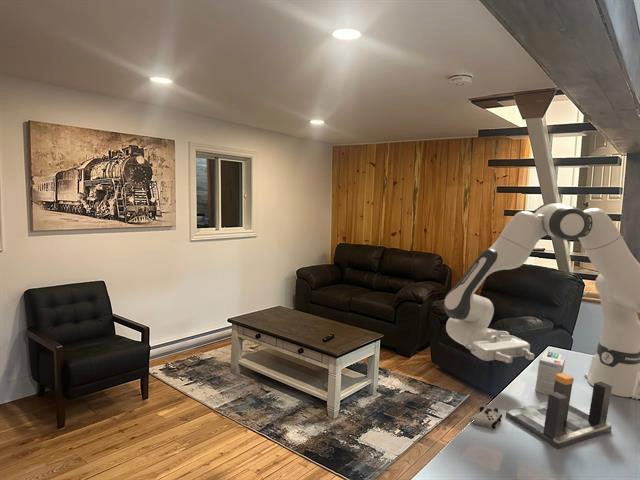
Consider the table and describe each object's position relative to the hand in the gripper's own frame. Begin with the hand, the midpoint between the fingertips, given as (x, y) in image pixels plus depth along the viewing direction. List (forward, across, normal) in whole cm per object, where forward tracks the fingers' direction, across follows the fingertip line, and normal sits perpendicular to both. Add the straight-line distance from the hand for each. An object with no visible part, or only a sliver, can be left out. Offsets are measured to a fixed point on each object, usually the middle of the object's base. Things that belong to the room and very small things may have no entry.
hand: (521, 359), depth 130 cm
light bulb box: (-3, +19, +14) cm, 23 cm away
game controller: (+5, -17, +14) cm, 23 cm away
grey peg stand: (+13, +1, +13) cm, 19 cm away
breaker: (+13, +1, +12) cm, 18 cm away
